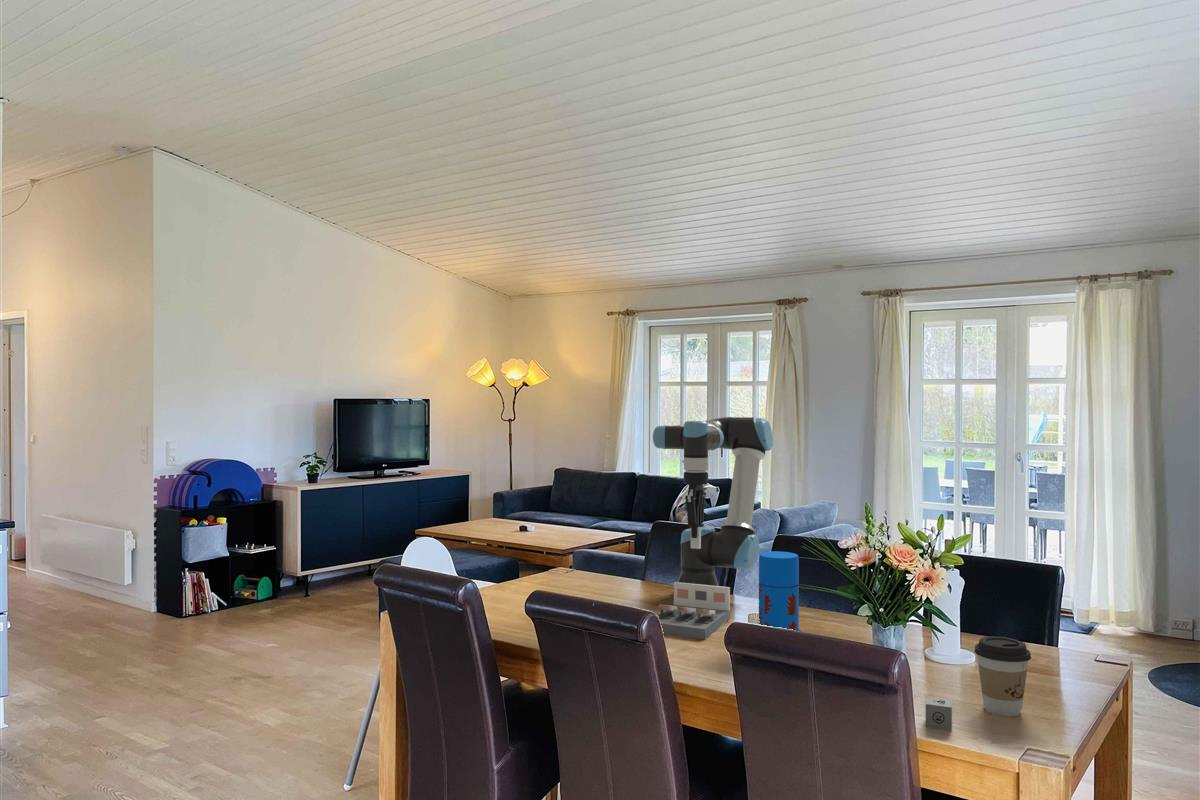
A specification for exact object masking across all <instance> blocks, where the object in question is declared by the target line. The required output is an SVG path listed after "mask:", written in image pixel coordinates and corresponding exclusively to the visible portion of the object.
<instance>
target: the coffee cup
mask: <svg viewBox="0 0 1200 800" xmlns="http://www.w3.org/2000/svg"><path fill="white" fill-rule="evenodd" d="M973 651H974V654H976V656H977V664H978V671H979V679H980V687H981V693H982V694H981V695H982V703H983V704H982V705H983V706H984V710H985V711H986V712H987V713H990V714H992V715H994V716H1000V717H1007V718H1008V717H1009V718H1012V717H1017V716H1020V714H1021V711H1022V710H1023V703H1024V702H1023V701H1024V695H1025V688H1026V680H1027V675H1028V674H1027V673H1028V667H1029V661H1030V660H1031V659H1032V654H1031V651H1030V650H1029V649H1027V645H1026V643H1025V642H1023V641H1021V640H1018V639H1016V638H1011V637H1006V636H995V635H994V636H984V637H981V638H980V639H978V643H976V644H975V645H974V650H973Z"/></svg>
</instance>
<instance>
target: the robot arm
mask: <svg viewBox="0 0 1200 800" xmlns="http://www.w3.org/2000/svg"><path fill="white" fill-rule="evenodd" d="M773 439H774V438H773V430H772V428H771V424H770V422H769V421H768V419H767V418H764V417H757V416H754V417H749V416H747V417H746V416H740V417H739V416H738V417H737V416H736V417H735V416H732V417H731V416H727V417H725V416H724V417H719V418H714V419H708V420H687V421H684V423H683V424H679V425H657V426H655V428H654V429H653V432H652V441H653V446H654V447H655V448H656V449H662V450H683V459H682V461H681V463H682V464H683V470H684V472H683V484H685V485H688V490H687V494H686V495H685V497H684V498H685V504H686V516H687V527H688V528H686V529H684V530H683V531H682V532H681V537H680V542H679V544H680V574H679V577H678V580H677V582H681V583H691V584H701V585H711V586H720V585H719V583H718V580H717V576H716V574H715V567H719V568H720V567H721V568H731V569H736V570H749V569H751V568H752V567H753V566H754V565H755V563H756V562H757V560H758V558H759V557H758V556H759V554H760V539H759V537H758V535H756V531H755V529H754V527H752V522H753V517H754V507H755V501H756V492H757V484H758V478H759V477H758V476H759V470H760V462H761V461H762V459H764V458H765V456H766V452H769V451H770V450H771V449H772V448H773V444H774V443H773V441H774V440H773ZM716 449H724V450H725V449H726V450H731V453H732V454H733V456H734V457H735V459H734V466H733V472H732V479H731V487H730V494H729V501H728V506H727V507H728V508H727V514H726V522H725V523H723V524H722V525H721V528H720V531H716V529H715V527H713V526H704V525H705V524H704V521H705V520H704V519H705V518H704V517H705V504H706V503H705V501H706V497H707V492H706V491H704V486H705V485H708V484H709V473H708V471H709V451H715V450H716Z"/></svg>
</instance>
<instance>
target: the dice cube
mask: <svg viewBox="0 0 1200 800" xmlns="http://www.w3.org/2000/svg"><path fill="white" fill-rule="evenodd" d="M952 700H953V699H951V698H943V697H936V696H927V695H926V697H925V729H926V728H927V729H931V730H938V731H939V730H940V731H946V730H947V731H946V732H952V730H953V729H952V726H953V725H952V724H953V709H952V708H953V705H952V704H953V701H952Z"/></svg>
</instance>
